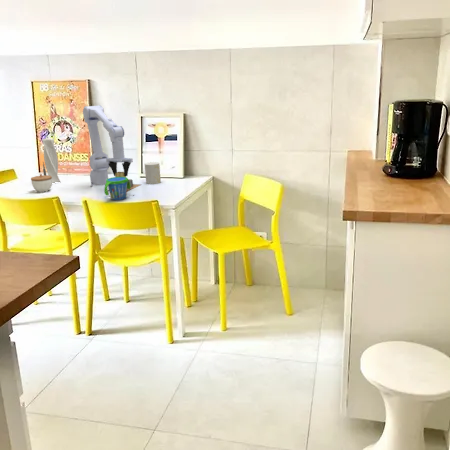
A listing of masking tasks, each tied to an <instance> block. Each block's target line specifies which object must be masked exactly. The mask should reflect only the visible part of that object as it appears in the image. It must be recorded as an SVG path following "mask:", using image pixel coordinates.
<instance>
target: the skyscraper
mask: <svg viewBox="0 0 450 450" xmlns="http://www.w3.org/2000/svg"><path fill="white" fill-rule="evenodd" d="M50 136H52V134H49V135H46V137H45V138H42V140H41V141H42V144H43V159H44V161H42V172H43V175H49V176H52V183H55V182H60V183H61V180H60V178H59V174H58V173H59V172H58V171H59V159H58V154H57V150H56V147H55V144H54V143H55V137H56V136H55V134H53V138H51V137H50ZM55 184H56V183H55Z"/></svg>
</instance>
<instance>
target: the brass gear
mask: <svg viewBox="0 0 450 450" xmlns="http://www.w3.org/2000/svg"><path fill="white" fill-rule="evenodd" d="M114 177H127V176H124V171H117V172H115V176H114Z"/></svg>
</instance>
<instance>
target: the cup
mask: <svg viewBox="0 0 450 450" xmlns="http://www.w3.org/2000/svg"><path fill="white" fill-rule="evenodd" d="M160 166H161V165H160V162H157V161H155V162H154V161H153V162H151V161H150V162H146V163H144V172H145V183H146V185H156V184H160V183H161V182H162V180H161V167H160Z"/></svg>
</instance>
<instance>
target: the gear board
mask: <svg viewBox="0 0 450 450" xmlns="http://www.w3.org/2000/svg"><path fill="white" fill-rule="evenodd" d="M142 185H143V184H141V183H139V184H135V183H133V186H132V187H131V188H130V189H127V192H130V191H132V190H134V189H135V188H138V187H140V186H142ZM107 190H108V192H109V189H107Z"/></svg>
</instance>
